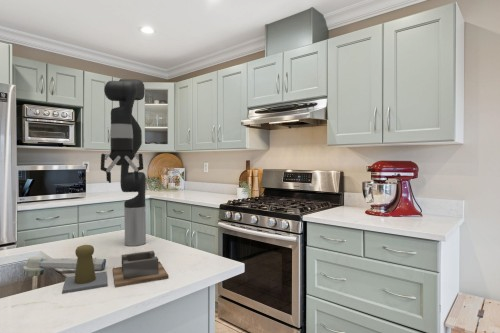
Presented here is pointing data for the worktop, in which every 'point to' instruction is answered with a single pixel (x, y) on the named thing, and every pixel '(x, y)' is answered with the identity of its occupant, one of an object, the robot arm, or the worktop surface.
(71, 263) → the toothbrush head
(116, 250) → the worktop surface
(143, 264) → the collar block
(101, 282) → the mat
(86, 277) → the olive pawn
